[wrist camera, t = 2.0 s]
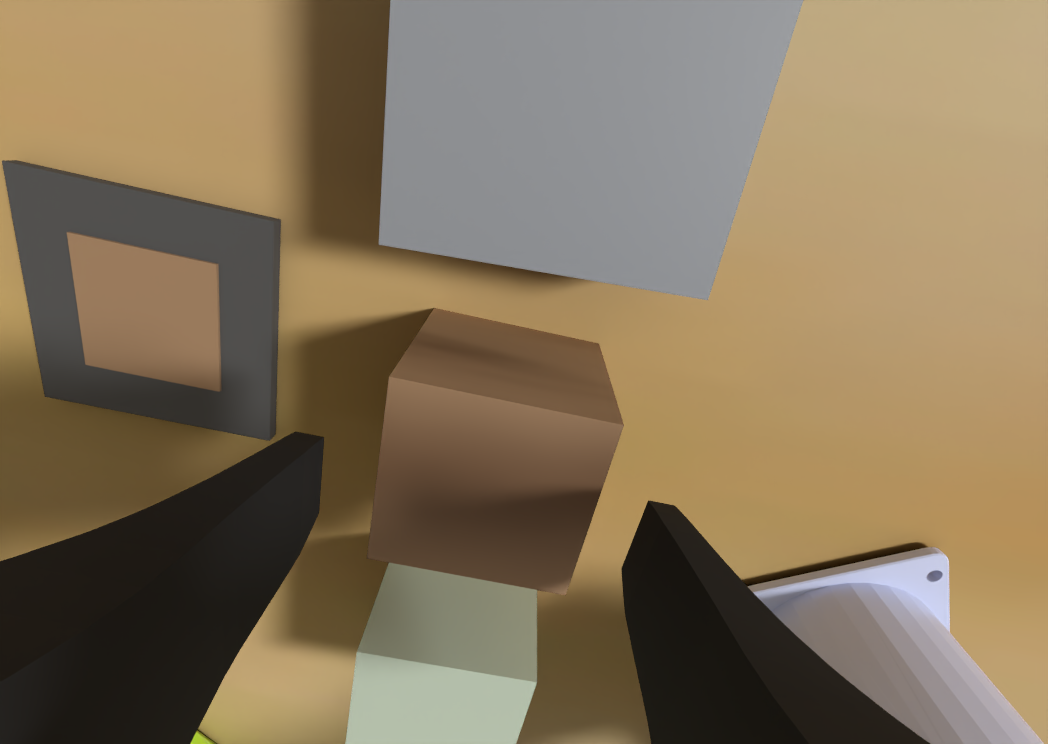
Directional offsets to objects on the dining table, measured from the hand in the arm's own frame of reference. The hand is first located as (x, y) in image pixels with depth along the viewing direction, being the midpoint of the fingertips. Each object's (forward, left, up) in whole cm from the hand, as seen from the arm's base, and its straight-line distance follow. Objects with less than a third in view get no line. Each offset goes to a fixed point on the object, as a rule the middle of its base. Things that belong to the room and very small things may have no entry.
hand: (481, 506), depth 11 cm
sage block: (-7, +4, -5) cm, 10 cm away
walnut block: (0, 0, -5) cm, 5 cm away
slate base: (+7, -4, -6) cm, 10 cm away
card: (+6, +9, -5) cm, 12 cm away
